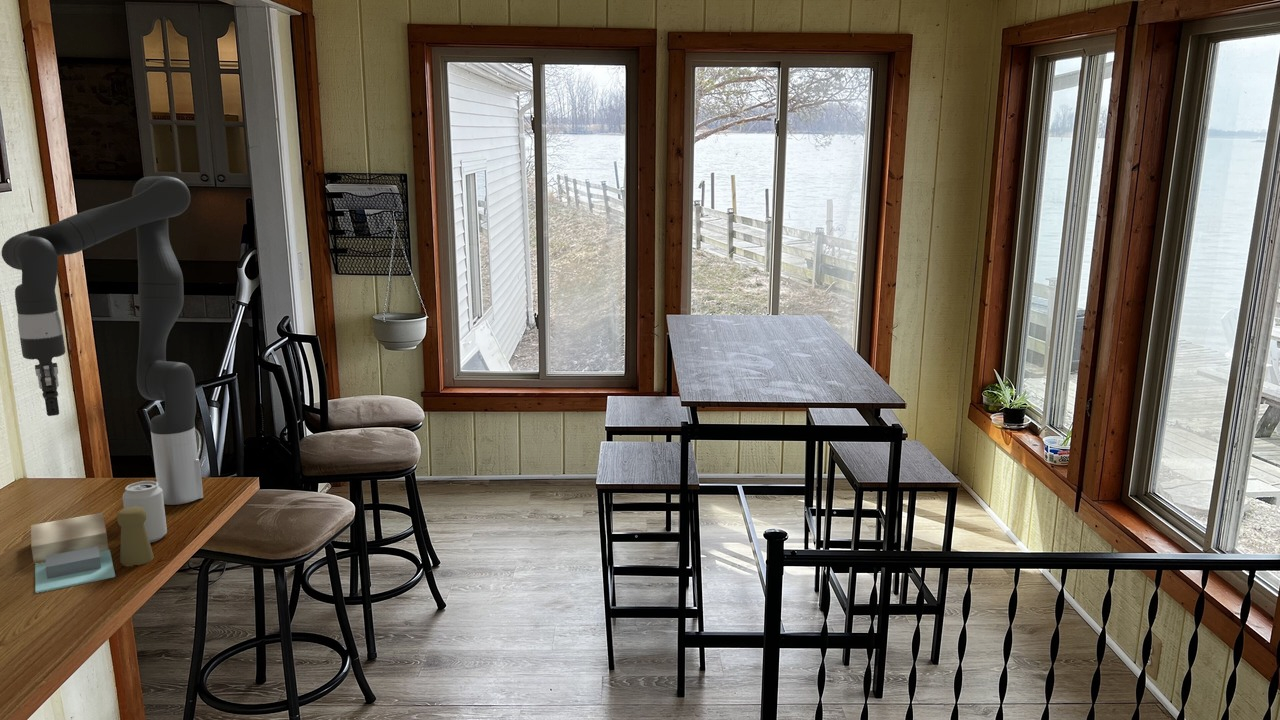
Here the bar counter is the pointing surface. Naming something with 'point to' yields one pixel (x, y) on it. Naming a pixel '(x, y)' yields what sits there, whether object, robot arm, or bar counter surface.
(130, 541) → the cork
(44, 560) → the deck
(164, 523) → the can
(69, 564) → the grey rectangular block
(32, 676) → the bar counter surface
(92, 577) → the mat
